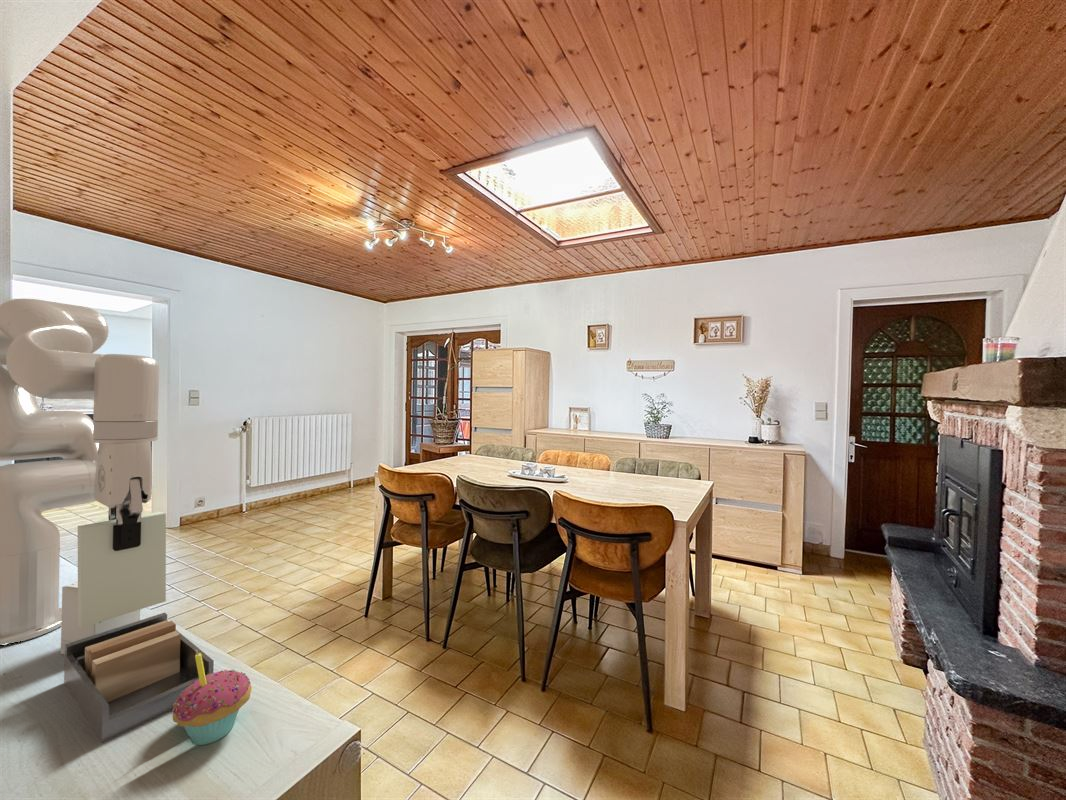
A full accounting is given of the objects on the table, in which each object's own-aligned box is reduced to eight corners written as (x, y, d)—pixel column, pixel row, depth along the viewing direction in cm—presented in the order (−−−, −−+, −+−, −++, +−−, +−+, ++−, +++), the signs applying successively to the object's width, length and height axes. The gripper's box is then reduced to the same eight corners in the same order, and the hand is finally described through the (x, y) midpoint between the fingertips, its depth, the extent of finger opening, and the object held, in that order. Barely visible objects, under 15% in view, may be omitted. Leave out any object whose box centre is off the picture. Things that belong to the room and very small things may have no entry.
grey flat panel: (77, 623, 65) (77, 526, 65) (161, 598, 74) (161, 511, 73) (81, 628, 64) (81, 528, 64) (165, 601, 73) (165, 513, 72)
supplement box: (92, 667, 71) (94, 590, 71) (58, 660, 72) (60, 585, 72) (141, 642, 78) (142, 573, 78) (109, 637, 80) (111, 569, 80)
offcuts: (84, 691, 63) (85, 644, 63) (166, 659, 71) (167, 617, 71) (95, 707, 60) (96, 657, 60) (179, 671, 68) (180, 627, 68)
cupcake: (187, 768, 52) (189, 670, 52) (160, 737, 57) (161, 647, 57) (262, 723, 59) (264, 637, 59) (233, 699, 64) (234, 619, 64)
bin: (63, 690, 65) (64, 644, 65) (164, 652, 75) (164, 612, 75) (101, 752, 54) (102, 696, 54) (212, 697, 64) (213, 651, 64)
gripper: (80, 430, 70) (77, 542, 70) (109, 437, 61) (106, 565, 61) (140, 428, 76) (138, 531, 76) (174, 434, 67) (172, 550, 68)
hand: (124, 545), depth 69 cm, fingers closed on grey flat panel, 2 cm apart
